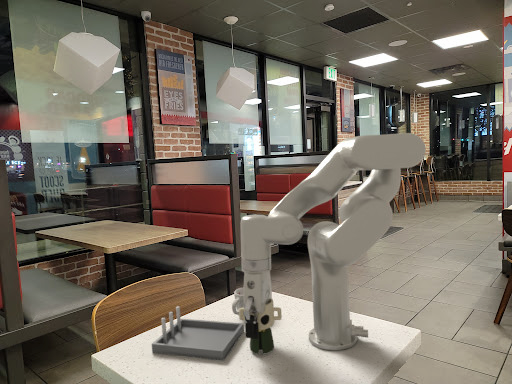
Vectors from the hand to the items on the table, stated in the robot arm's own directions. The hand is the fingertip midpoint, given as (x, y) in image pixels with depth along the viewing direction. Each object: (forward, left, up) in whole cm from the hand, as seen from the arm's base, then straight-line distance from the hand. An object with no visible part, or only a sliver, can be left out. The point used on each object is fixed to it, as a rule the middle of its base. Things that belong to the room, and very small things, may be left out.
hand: (257, 329), depth 95 cm
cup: (+10, -19, -6) cm, 23 cm away
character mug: (-1, 0, -6) cm, 6 cm away
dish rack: (+17, -1, -6) cm, 18 cm away
